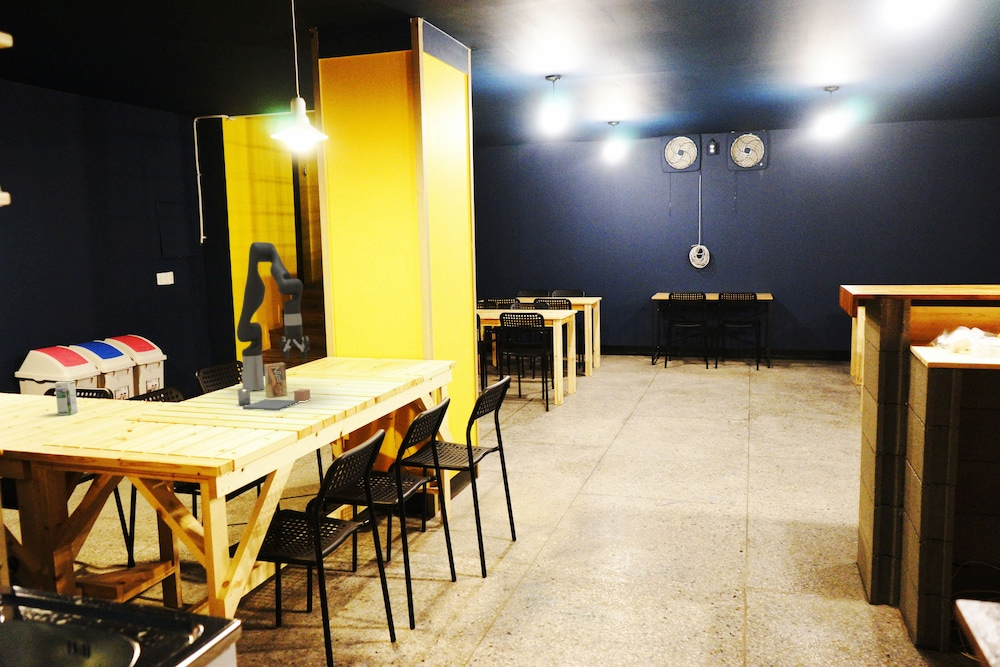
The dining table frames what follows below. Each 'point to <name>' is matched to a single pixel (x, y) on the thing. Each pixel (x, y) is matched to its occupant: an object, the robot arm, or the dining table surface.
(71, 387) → the syrup box
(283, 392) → the candy box
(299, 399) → the terracotta block
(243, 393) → the grey metal cylinder
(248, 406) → the slate board
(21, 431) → the dining table surface
